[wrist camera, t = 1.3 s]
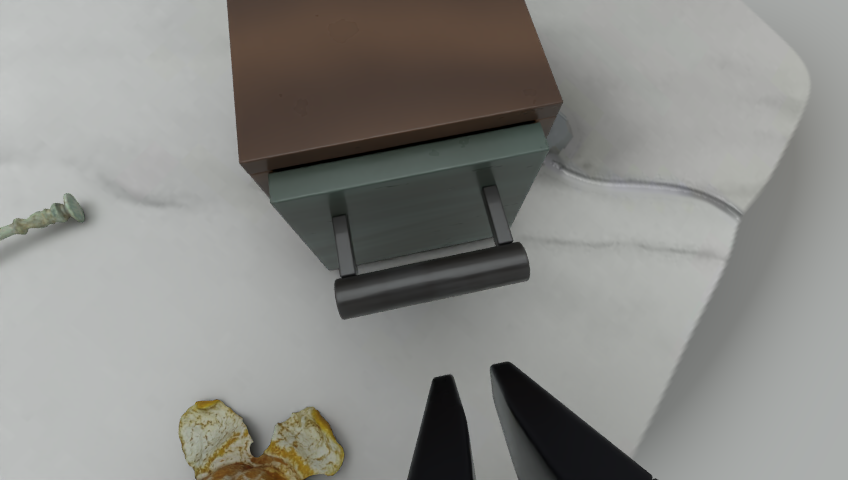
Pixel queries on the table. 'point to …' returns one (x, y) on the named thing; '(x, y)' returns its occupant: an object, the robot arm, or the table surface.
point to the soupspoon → (45, 217)
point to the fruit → (230, 442)
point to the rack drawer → (415, 214)
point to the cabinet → (379, 75)
